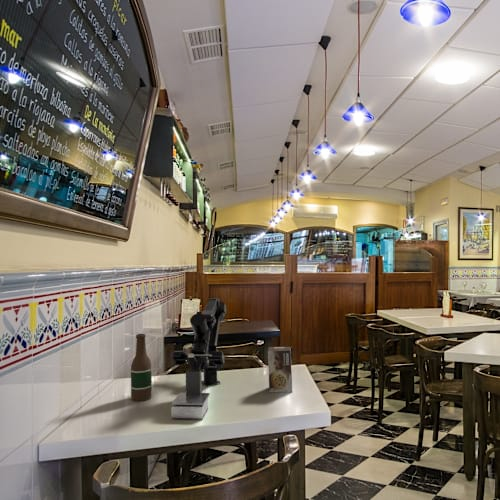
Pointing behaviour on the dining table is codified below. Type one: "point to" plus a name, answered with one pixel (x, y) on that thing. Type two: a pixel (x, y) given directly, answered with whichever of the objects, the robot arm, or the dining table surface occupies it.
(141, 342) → the beer bottle
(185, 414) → the white flat block
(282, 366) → the grey printed box
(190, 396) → the lid
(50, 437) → the dining table surface
